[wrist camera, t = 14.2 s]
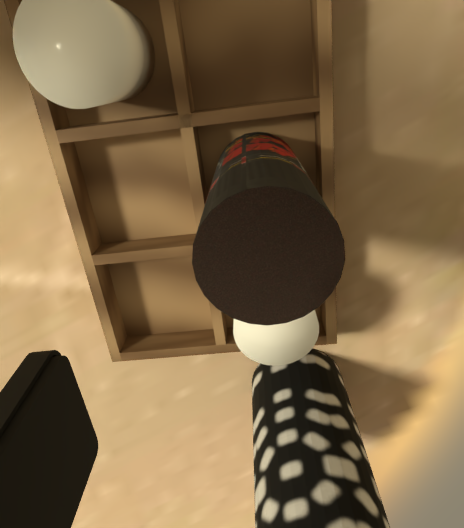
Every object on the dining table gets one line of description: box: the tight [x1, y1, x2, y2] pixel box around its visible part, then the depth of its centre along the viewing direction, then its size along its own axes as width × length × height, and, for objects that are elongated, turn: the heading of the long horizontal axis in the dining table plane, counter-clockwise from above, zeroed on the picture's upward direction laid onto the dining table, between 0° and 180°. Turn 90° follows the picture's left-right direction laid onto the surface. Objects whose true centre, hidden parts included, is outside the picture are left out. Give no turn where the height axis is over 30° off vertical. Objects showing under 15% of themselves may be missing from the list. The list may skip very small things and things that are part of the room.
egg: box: [13, 0, 155, 109], centre depth 23 cm, size 6×6×7 cm
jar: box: [233, 310, 319, 366], centre depth 30 cm, size 6×6×7 cm
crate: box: [4, 0, 337, 362], centre depth 29 cm, size 27×18×3 cm
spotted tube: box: [252, 349, 390, 528], centre depth 29 cm, size 8×8×20 cm
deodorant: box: [192, 132, 345, 326], centre depth 23 cm, size 6×6×15 cm
